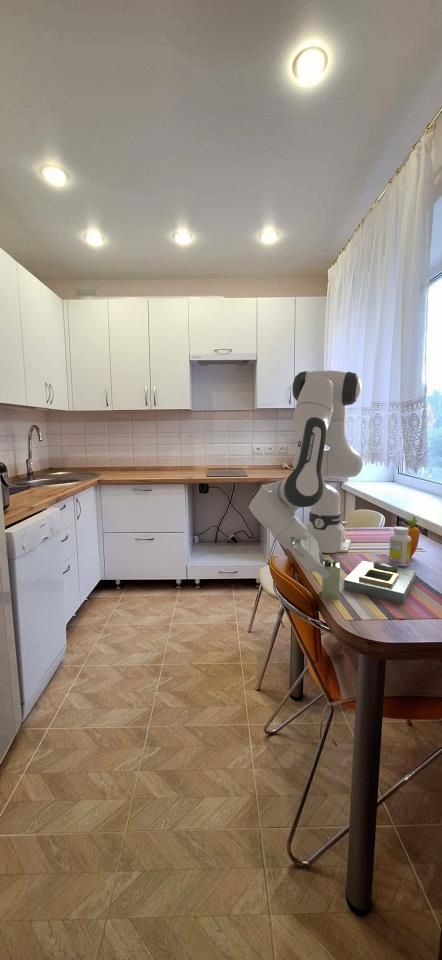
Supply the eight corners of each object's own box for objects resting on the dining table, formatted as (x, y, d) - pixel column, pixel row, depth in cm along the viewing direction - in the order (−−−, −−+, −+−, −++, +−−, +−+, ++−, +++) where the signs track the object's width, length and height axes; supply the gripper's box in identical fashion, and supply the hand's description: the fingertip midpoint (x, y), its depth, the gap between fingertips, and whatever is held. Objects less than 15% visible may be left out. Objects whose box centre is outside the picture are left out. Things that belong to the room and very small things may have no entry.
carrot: (409, 559, 137) (412, 519, 135) (399, 555, 142) (402, 516, 140) (420, 558, 139) (423, 518, 137) (410, 554, 143) (413, 515, 141)
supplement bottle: (405, 560, 136) (407, 525, 135) (412, 567, 130) (415, 530, 128) (385, 560, 137) (388, 525, 135) (392, 566, 131) (394, 530, 129)
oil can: (321, 591, 111) (323, 552, 109) (340, 592, 110) (342, 553, 108) (322, 597, 106) (323, 557, 105) (341, 599, 105) (343, 558, 104)
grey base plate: (364, 567, 130) (365, 554, 129) (416, 577, 121) (417, 564, 120) (343, 589, 112) (344, 574, 111) (403, 603, 103) (404, 588, 102)
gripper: (299, 536, 97) (338, 576, 96) (301, 518, 117) (332, 551, 116) (281, 552, 99) (319, 591, 98) (286, 531, 119) (317, 564, 118)
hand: (326, 569), depth 107 cm, fingers open, 8 cm apart
